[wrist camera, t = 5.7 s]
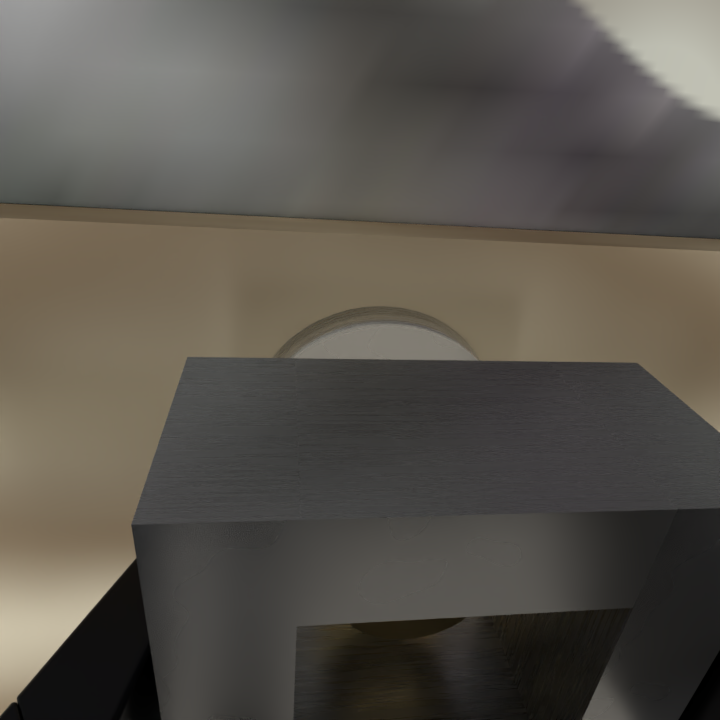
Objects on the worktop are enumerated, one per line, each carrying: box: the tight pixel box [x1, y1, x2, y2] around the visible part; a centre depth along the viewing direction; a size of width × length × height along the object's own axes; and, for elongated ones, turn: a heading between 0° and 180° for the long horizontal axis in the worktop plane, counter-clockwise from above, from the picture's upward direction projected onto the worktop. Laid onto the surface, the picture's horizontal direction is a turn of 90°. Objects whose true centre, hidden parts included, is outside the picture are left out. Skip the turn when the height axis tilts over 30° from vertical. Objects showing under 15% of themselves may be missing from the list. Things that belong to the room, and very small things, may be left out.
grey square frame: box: [131, 357, 720, 720], centre depth 8 cm, size 6×6×3 cm
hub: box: [273, 306, 480, 639], centre depth 10 cm, size 5×5×4 cm
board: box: [0, 203, 720, 716], centre depth 15 cm, size 15×27×1 cm, turn 85°
